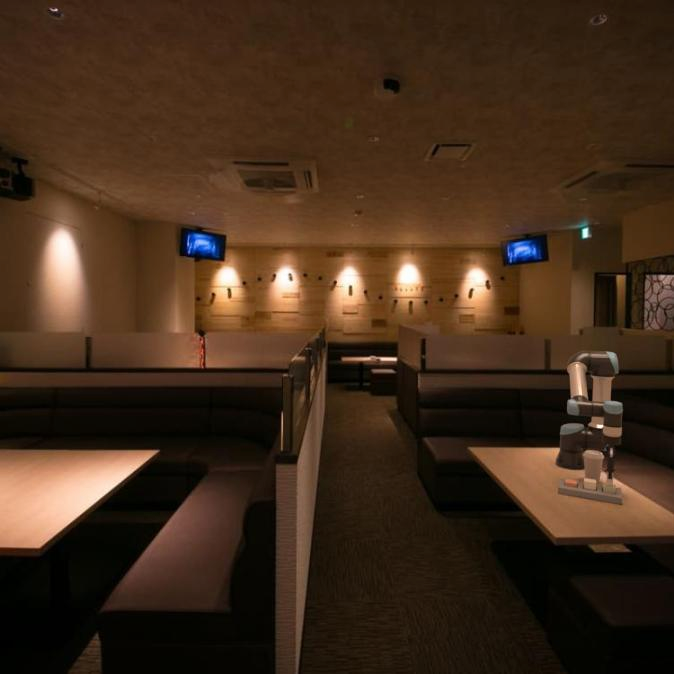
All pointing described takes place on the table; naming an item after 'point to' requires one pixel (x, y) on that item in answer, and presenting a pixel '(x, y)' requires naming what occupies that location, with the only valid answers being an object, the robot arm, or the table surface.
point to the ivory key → (589, 484)
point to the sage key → (609, 488)
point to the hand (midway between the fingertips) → (609, 485)
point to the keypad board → (590, 492)
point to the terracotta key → (571, 483)
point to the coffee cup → (593, 464)
